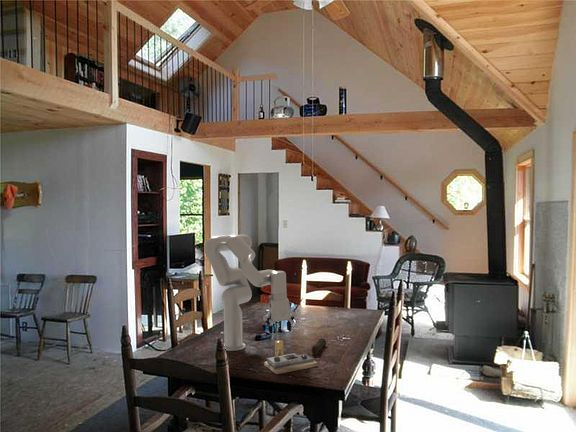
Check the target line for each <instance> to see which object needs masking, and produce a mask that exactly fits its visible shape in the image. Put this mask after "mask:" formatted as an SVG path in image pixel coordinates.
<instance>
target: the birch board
mask: <svg viewBox="0 0 576 432" xmlns="http://www.w3.org/2000/svg"><path fill="white" fill-rule="evenodd" d="M263 365H264V366H265V367H266V368H267V369H269V371H271V372H273V373H274V374H275V375H280V374H286V373H290V372H294V371H299V370H304V369H310V368H315V367H318V361H315V360H314V361H313V362H308V363H303V364H298V365H293V366H288V367H282V368H277V369H274V368H273V367H272V366H270V365H269V364H268V363H267V360H266V361H264V362H263Z"/></svg>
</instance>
